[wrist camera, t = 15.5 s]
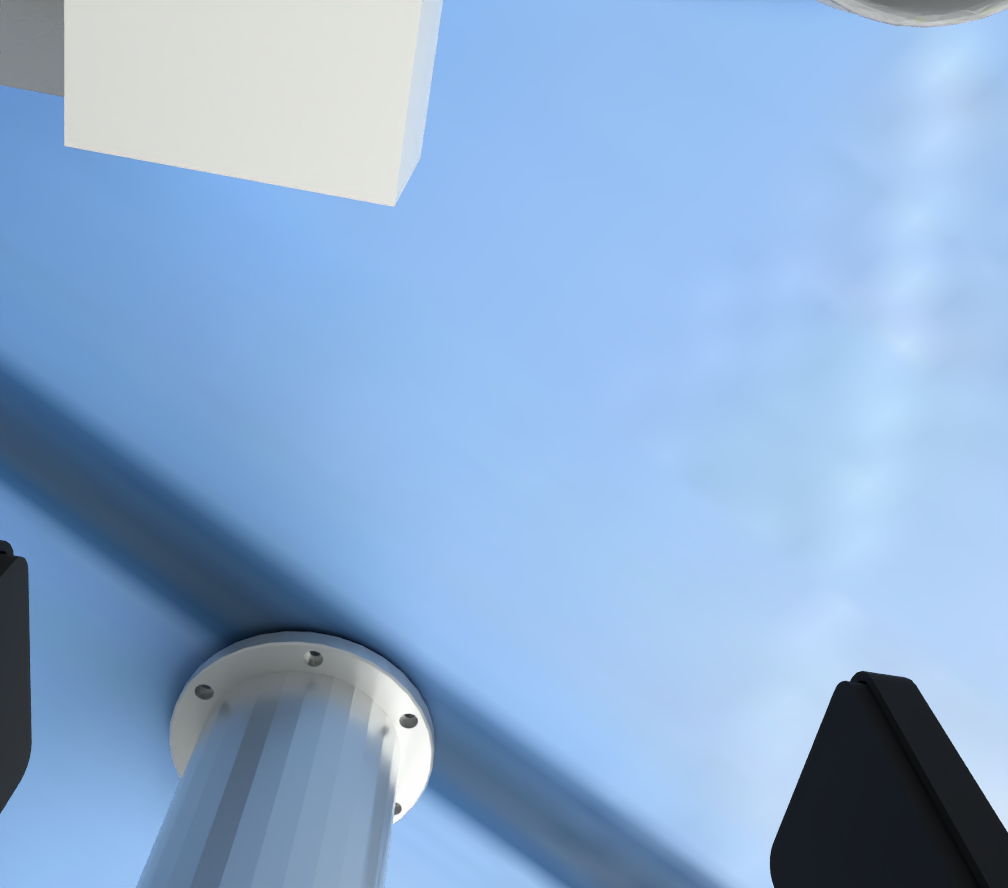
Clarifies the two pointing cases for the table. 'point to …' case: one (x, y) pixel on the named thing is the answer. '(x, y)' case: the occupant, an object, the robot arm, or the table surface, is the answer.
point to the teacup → (920, 10)
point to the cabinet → (256, 88)
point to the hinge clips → (32, 45)
